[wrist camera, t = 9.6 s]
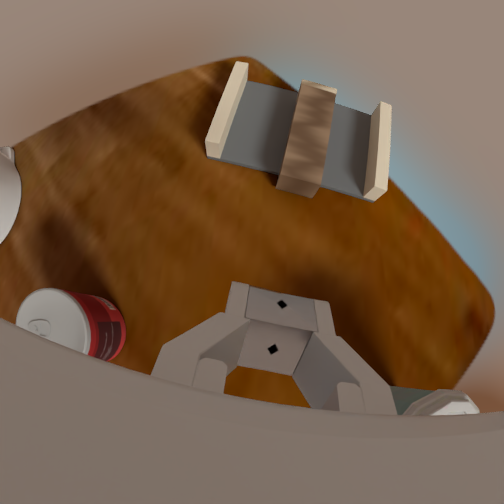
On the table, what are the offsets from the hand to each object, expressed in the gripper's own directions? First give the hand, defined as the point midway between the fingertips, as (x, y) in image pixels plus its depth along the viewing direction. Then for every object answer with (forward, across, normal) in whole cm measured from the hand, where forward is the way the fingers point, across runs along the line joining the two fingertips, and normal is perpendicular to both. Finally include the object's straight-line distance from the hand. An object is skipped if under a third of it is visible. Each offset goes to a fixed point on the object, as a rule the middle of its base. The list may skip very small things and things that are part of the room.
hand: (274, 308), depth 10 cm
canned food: (+16, +15, +21) cm, 31 cm away
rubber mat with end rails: (+34, -3, -2) cm, 34 cm away
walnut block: (+27, -3, +3) cm, 27 cm away
